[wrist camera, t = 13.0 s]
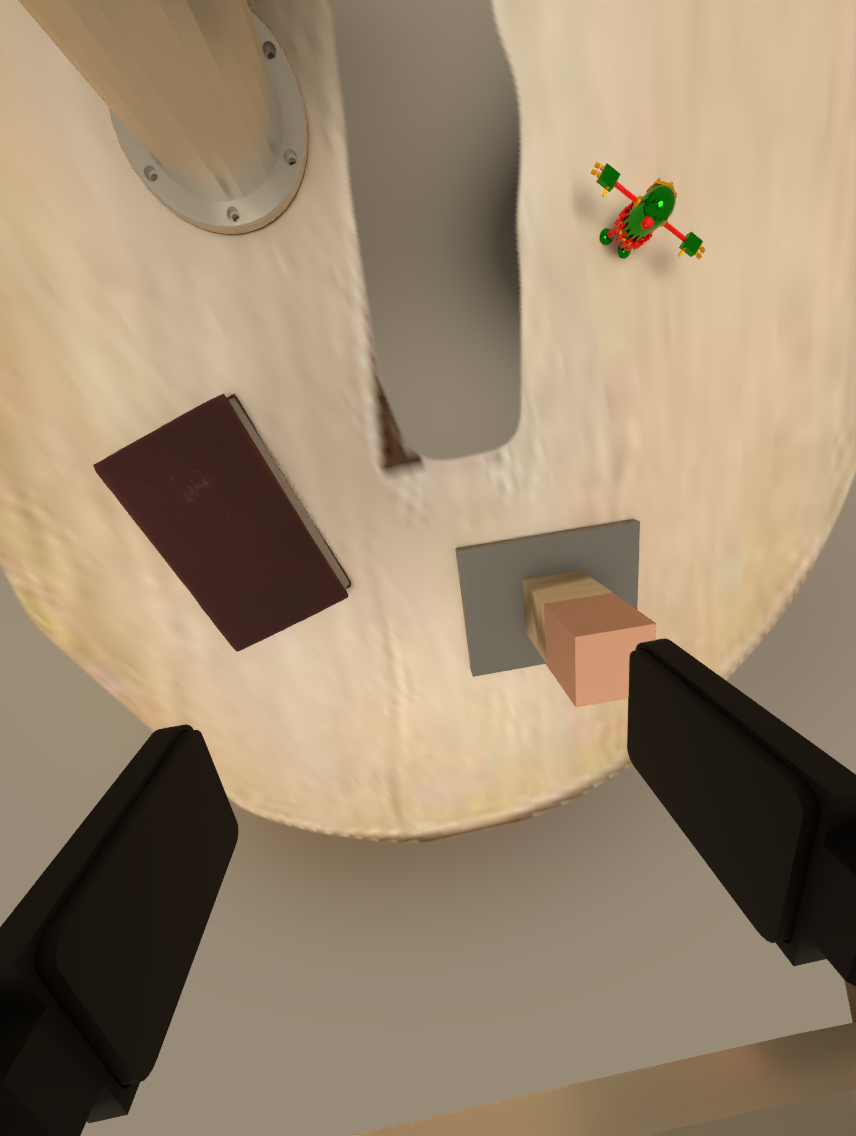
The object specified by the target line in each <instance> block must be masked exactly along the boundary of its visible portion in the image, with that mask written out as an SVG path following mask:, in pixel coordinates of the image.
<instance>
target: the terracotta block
mask: <svg viewBox="0 0 856 1136" xmlns="http://www.w3.org/2000/svg"><path fill="white" fill-rule="evenodd" d="M544 619H545V645H546V665H547V666H548V668H549V669H550V671H551V672H552V674H553V675H554V676H555V678H556V679H557V681H558V682H559V684H560V685H561V687H562V688H563V689H564V691H565V692H566V694H567V695H568V697H569V698H570V699H571V701H572V702H573V704H574V705H575V707H581V706H586V705H592V704H598V703H604V702H609V701H615V700H621V699H626V698H628V696H629V657H630V653H631V652H632V651H635V650H636V646H637V644H639V643H642V642H647V641H653V640H656V623H655V622H653V621H652V620H651V619H649V618H648V617H646V616H645V615H643V614H642V613H641V612H639V611H638V610H636V609H635V608H633V607H632V606H631V605H629V604H628V603H626V602H625V601H623V600H622V599H620V598H619V597H618V596H616V595H615V594H613V593H607V594H601V595H594V596H588V597H582V598H576V599H570V600H563V601H557V602H551V603H545V604H544Z"/></svg>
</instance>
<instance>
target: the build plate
mask: <svg viewBox="0 0 856 1136" xmlns="http://www.w3.org/2000/svg"><path fill="white" fill-rule="evenodd" d="M639 532H640V521H637V520H634V519H633V520H627V521H621V522H615V523H609V524H602V525H596V526H590V527H584V528H578V529H572V530H566V531H560V532H554V533H548V534H542V535H536V536H530V537H524V538H517V539H511V540H505V541H499V542H493V543H487V544H481V545H475V546H469V547H463V548H457V549H456V553H457V561H458V569H459V577H460V585H461V593H462V601H463V610H464V618H465V626H466V634H467V642H468V650H469V658H470V666H471V672H472V675H473V677H474V676H479V675H485V674H491V673H496V672H502V671H507V670H513V669H518V668H524V667H529V666H535V665H541V664H546V662H545V660H544V659H543V658H542V656H541V655H540V653H539V652H538V650H537V649H536V648H535V646H534V645H533V643H532V642H531V640H530V639H529V638H528V636H527V635H526V630H525V616H524V601H523V587H522V580H525V579H531V578H537V577H543V576H549V575H554V574H560V573H566V572H572V571H578V570H581V571H583V572H584V573H586V574H587V575H589V576H590V577H591V578H593V579H594V580H596V581H597V582H599V583H600V584H602V585H603V586H604V587H606V588H607V589H609V590H610V591H612V592H613V594H615V595H616V596H618V597H619V598H620V599H622V600H623V601H625V602H626V603H628V604H629V605H631V606H632V607H633V608H635V609H636V610H637V600H638V566H639Z"/></svg>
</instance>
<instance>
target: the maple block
mask: <svg viewBox="0 0 856 1136" xmlns="http://www.w3.org/2000/svg"><path fill="white" fill-rule="evenodd" d="M522 587H523V601H524V616H525V630H526V635H527V636H528V638H529V639H530V640H531V642H532V643H533V645H534V646H535V648H536V649H537V650H538V652H539V653H540V655H541V656H542V658H543V659H544V660H545V662H546V645H545V619H544V604H545V603H551V602H557V601H563V600H570V599H576V598H582V597H588V596H594V595H601V594H607V593H613V592H612V591H610V590H609V589H607V588H606V587H604V586H603V585H602V584H600V583H599V582H597V581H596V580H594V579H593V578H591V577H590V576H589V575H587V574H586V573H584V572H583V571H581V570H578V571H572V572H566V573H560V574H554V575H549V576H543V577H537V578H531V579H525V580H522Z"/></svg>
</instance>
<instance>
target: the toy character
mask: <svg viewBox="0 0 856 1136" xmlns="http://www.w3.org/2000/svg"><path fill="white" fill-rule="evenodd" d="M600 165H601V164H600V163H597V162H596V164H595V166H594V167H596V168H598V169H599V167H600ZM600 170H601V171H602V172H601V173H600V172H598V174H597V177H598V179H597V181H596V182H597V183H598V184H600V185H601V186H602V187H604V188H605V190H604V192H603V194H602V196H603V197H604V196H605V195H606V193H607V191H609V192H610V191H611V190H612V189H613V187H615V188H617V189H618V190H619V191H620V192H622V193H623V194H624V195H625V196H627V197H628V198H629V199H630V200H632V201H633V202H632V203H630V204H629V205H628V206H627V207H625V208H624V209H623V210H622V211H621V213H620V214H619V218H618V219H617V220H616V222H615V225H617V224H619V225H617V226H616V227H615V228H614V229H612V230H611V229H609V228H605V229H603V230H602V231H601V233H600V242H601V243H602V244H603V245H608V244H610V243H611V241H612V239H613V236H614V235H616V234H618V233H619V236H618V237H617V239H616V240H615V242H616V243H617V242H618V241H621V240H622V241H623V243H621V244H620V245H619V247H618V255H619V257H620V258H623V259H624V258H627V257H628V256H629V255H630V252H631V249H634V250H635V249H636V248H637V249H638V248H639V247H640V246H642V245H643V244H644V243H645V242H647V241H648V240H649V239H650V238H651V237H652V234H651V233H653V232H654V231H655V230H656V229H657V228H659V227H662V226H664V227H665V228H667V229H668V230H669V231H670V232H672V233H673V234H674V235H675V236H677V237H678V238H679V239H680V240H682V241H683V242H682V244H681V245H680V247H679V248H680V249H682V250H681V252H680V253H679V254H678V256H679V257H681V255H682V254H683V253H684V252H685V253H687V254H688V255H689V256H690V257H692V256H693V255H697V256H696V257H697V258H698V259H700V258H701V257H702V256H701V254H700V253H698V249H700V251H701V253H704V252H705V249H704V247H702V245H701V244H702V242H703V241H702V240H701V239H700V238H698V237H697V236H696V235H695V234H693V233H692V232H690V233H688V234H687V235H686V237H685V236H684V235H683V234H682V233H680V232H679V231H678V230H677V229H675V228H674V227H673V226H672V225H670V224H669V223H668V222H667V220H668V218H669V217H670V216H671V214H672V212H673V209H674V206H675V203H676V200H675V199H676V197H677V196H676V195H677V193H676V192H675V190H674V188H673V182H671V183H667V182H663V181H660V179H658V180H657V181H656V182H655V183H654V184H653V185H651V186H650V187H649V188H648V189H647V191H646V192H647V193H646V194H645V195H644V196H643V197H642V196H639V197H636V196H634V195H633V194H632V193H631V192H629V191H628V190H627V189H626V188H625V187H623V186H622V185H621V184H620V183H618V182H617V180H618V178H619V176H620V173H619V172H617V171H616V170H615V169H614V168H612V167H611V166H610V165H609V164H606V165H605V166H603V165H602V166H601V168H600ZM596 173H597V171H596V170H594V169H593V170H592V171H591V174H593V175H596Z"/></svg>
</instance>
